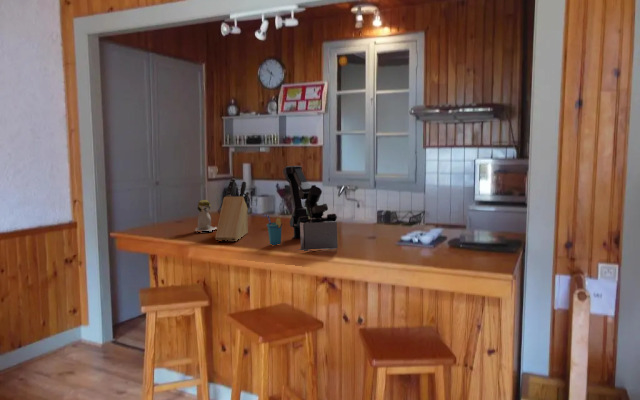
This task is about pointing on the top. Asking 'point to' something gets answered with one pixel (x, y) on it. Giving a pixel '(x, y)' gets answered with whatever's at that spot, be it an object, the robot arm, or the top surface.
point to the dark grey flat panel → (318, 235)
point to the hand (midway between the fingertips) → (322, 235)
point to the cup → (274, 231)
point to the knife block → (233, 214)
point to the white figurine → (204, 217)
